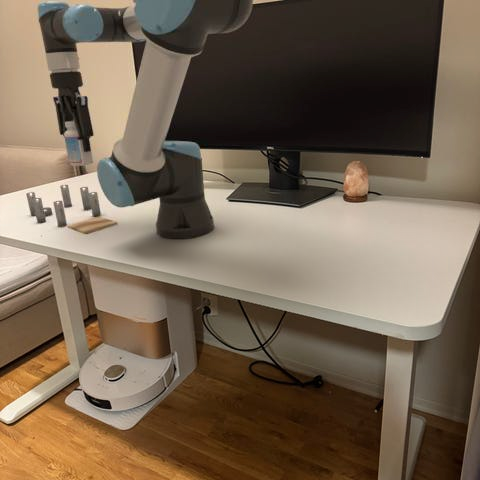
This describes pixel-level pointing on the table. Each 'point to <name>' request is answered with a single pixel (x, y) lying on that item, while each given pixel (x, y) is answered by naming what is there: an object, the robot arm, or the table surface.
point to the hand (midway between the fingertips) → (81, 162)
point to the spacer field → (88, 202)
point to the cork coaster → (92, 225)
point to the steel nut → (48, 211)
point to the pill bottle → (72, 144)
